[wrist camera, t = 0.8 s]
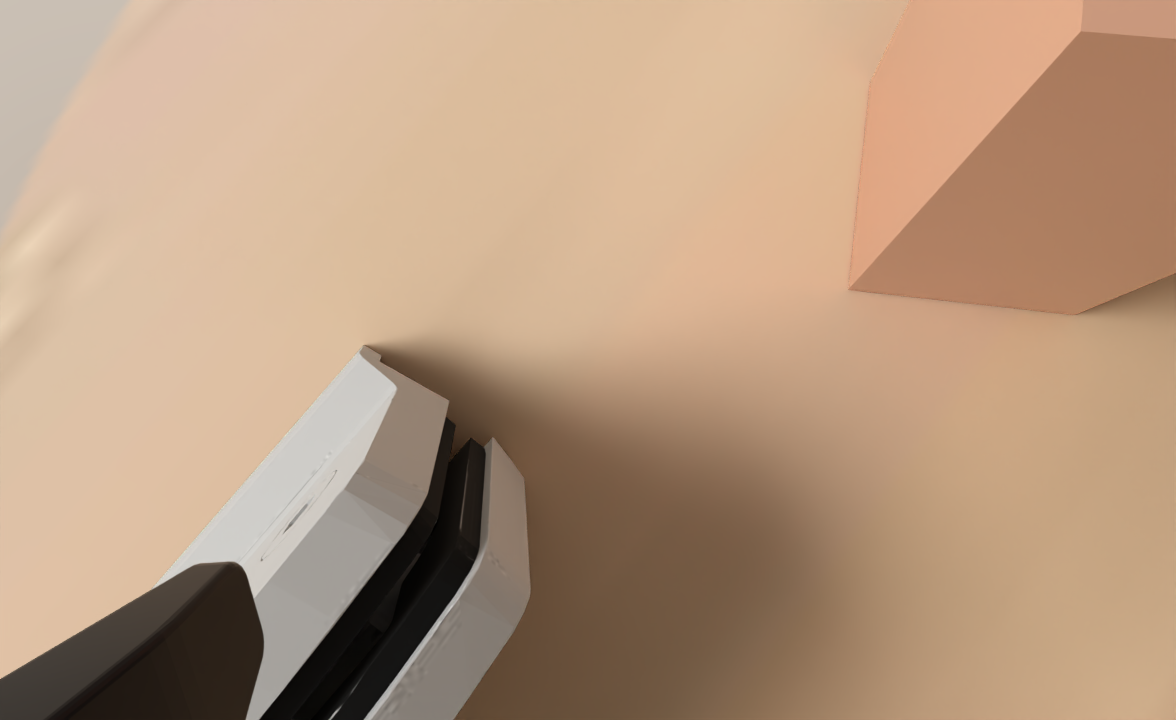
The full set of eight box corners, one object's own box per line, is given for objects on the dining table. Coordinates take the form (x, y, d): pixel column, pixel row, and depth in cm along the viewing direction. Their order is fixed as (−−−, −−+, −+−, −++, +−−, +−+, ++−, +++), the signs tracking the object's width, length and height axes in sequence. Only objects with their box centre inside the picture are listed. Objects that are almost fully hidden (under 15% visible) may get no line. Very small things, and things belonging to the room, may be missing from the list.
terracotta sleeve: (1074, 314, 22) (1646, 77, 9) (848, 289, 22) (1081, 30, 9) (1091, 101, 22) (1653, -410, 10) (870, 81, 23) (1118, -429, 10)
